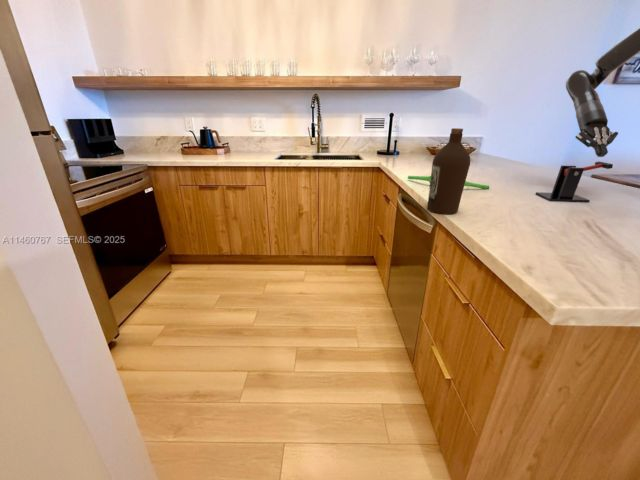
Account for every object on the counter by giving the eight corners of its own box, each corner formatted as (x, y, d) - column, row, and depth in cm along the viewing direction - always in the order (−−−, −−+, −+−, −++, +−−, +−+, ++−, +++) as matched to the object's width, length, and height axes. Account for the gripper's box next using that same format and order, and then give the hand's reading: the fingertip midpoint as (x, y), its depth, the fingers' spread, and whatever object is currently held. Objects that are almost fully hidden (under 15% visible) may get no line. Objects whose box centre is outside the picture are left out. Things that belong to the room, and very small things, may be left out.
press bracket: (571, 196, 109) (583, 164, 104) (588, 203, 101) (602, 169, 96) (534, 195, 110) (545, 164, 105) (549, 202, 102) (560, 168, 97)
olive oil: (454, 205, 98) (470, 127, 88) (464, 216, 89) (483, 130, 78) (422, 204, 100) (434, 127, 89) (428, 214, 90) (443, 129, 80)
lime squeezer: (488, 189, 119) (492, 173, 116) (486, 195, 110) (491, 179, 107) (408, 179, 135) (409, 165, 132) (400, 184, 125) (402, 170, 123)
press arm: (598, 166, 102) (599, 159, 101) (612, 169, 97) (613, 162, 96) (560, 174, 105) (560, 167, 104) (571, 177, 99) (572, 171, 98)
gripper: (578, 108, 103) (590, 148, 97) (619, 108, 102) (633, 148, 96) (564, 123, 110) (574, 161, 104) (601, 124, 109) (614, 162, 103)
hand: (602, 155), depth 100 cm, fingers closed
